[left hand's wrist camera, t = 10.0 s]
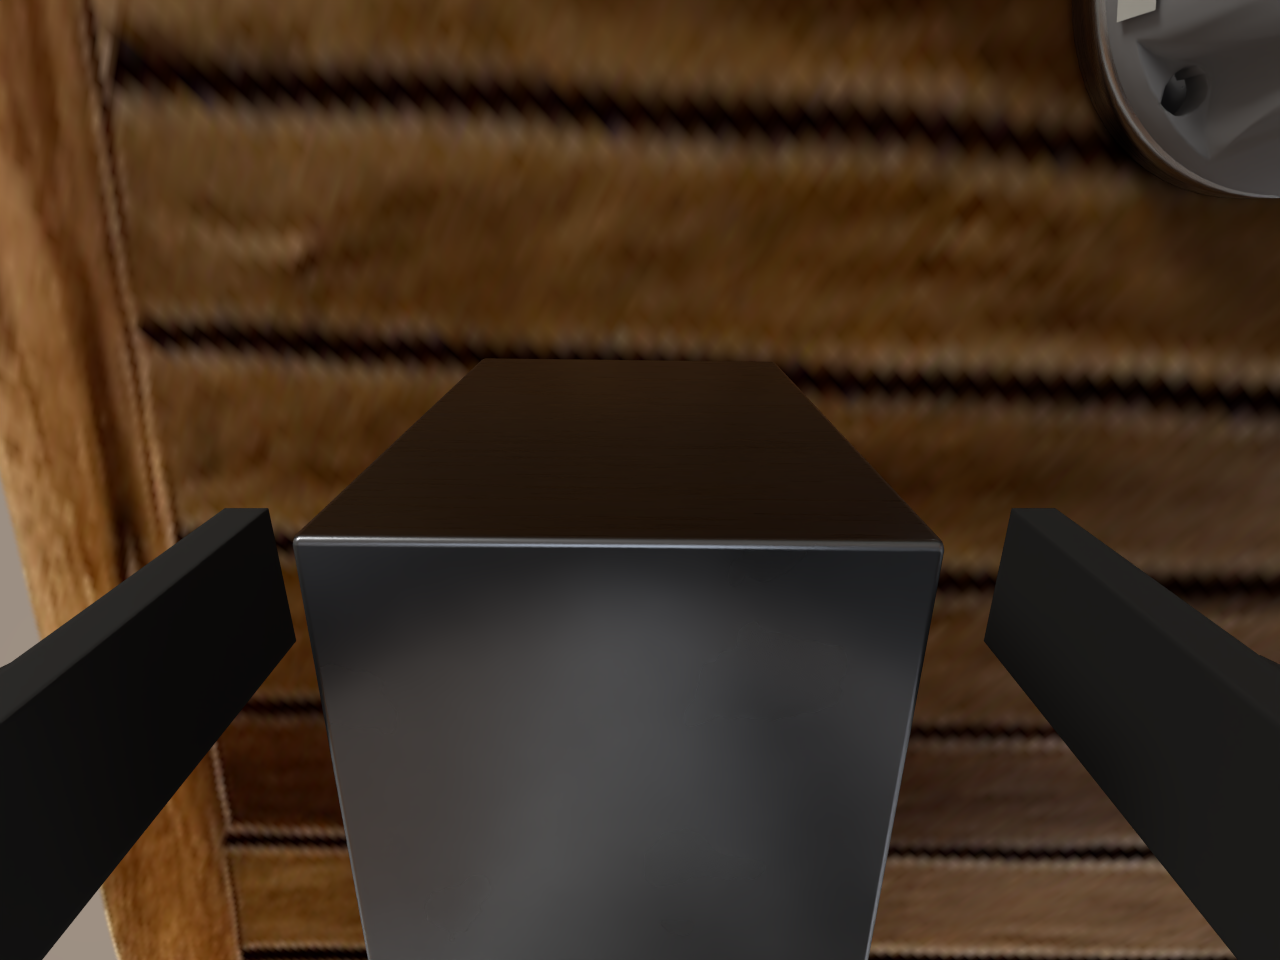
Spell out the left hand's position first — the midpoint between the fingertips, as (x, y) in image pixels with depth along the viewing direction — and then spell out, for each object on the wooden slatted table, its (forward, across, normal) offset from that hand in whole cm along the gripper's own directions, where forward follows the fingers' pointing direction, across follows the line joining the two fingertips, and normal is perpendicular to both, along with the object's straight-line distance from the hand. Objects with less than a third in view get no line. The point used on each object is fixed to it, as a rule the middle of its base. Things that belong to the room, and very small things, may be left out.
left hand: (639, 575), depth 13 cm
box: (+3, 0, -8) cm, 8 cm away
